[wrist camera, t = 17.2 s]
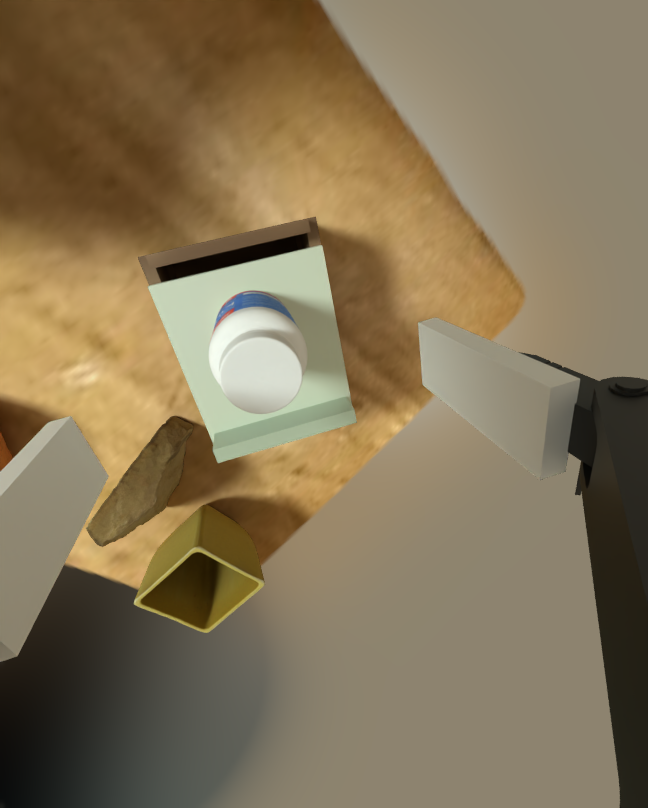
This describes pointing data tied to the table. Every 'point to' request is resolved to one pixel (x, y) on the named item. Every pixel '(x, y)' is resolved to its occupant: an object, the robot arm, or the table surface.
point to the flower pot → (202, 571)
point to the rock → (143, 484)
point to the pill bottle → (257, 352)
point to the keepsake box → (230, 251)
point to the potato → (4, 453)
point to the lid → (315, 317)
